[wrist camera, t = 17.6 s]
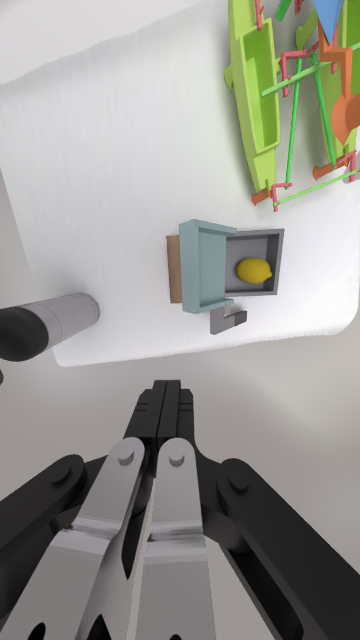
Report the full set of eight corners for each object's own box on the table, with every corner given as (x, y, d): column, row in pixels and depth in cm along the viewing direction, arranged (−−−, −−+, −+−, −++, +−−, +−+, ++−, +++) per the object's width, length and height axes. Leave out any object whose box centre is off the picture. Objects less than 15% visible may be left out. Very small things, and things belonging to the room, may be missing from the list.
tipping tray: (184, 344, 29) (196, 349, 27) (179, 224, 24) (194, 219, 21) (242, 320, 40) (254, 322, 38) (247, 236, 35) (261, 233, 33)
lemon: (276, 274, 37) (242, 266, 42) (279, 255, 33) (241, 249, 37) (264, 293, 36) (231, 283, 41) (266, 276, 32) (228, 267, 36)
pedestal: (174, 296, 43) (170, 303, 34) (171, 244, 40) (166, 236, 31) (211, 294, 43) (218, 301, 34) (212, 241, 39) (219, 232, 30)
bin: (213, 293, 43) (217, 297, 37) (214, 238, 39) (218, 232, 33) (264, 291, 42) (276, 294, 36) (270, 234, 38) (284, 228, 33)
